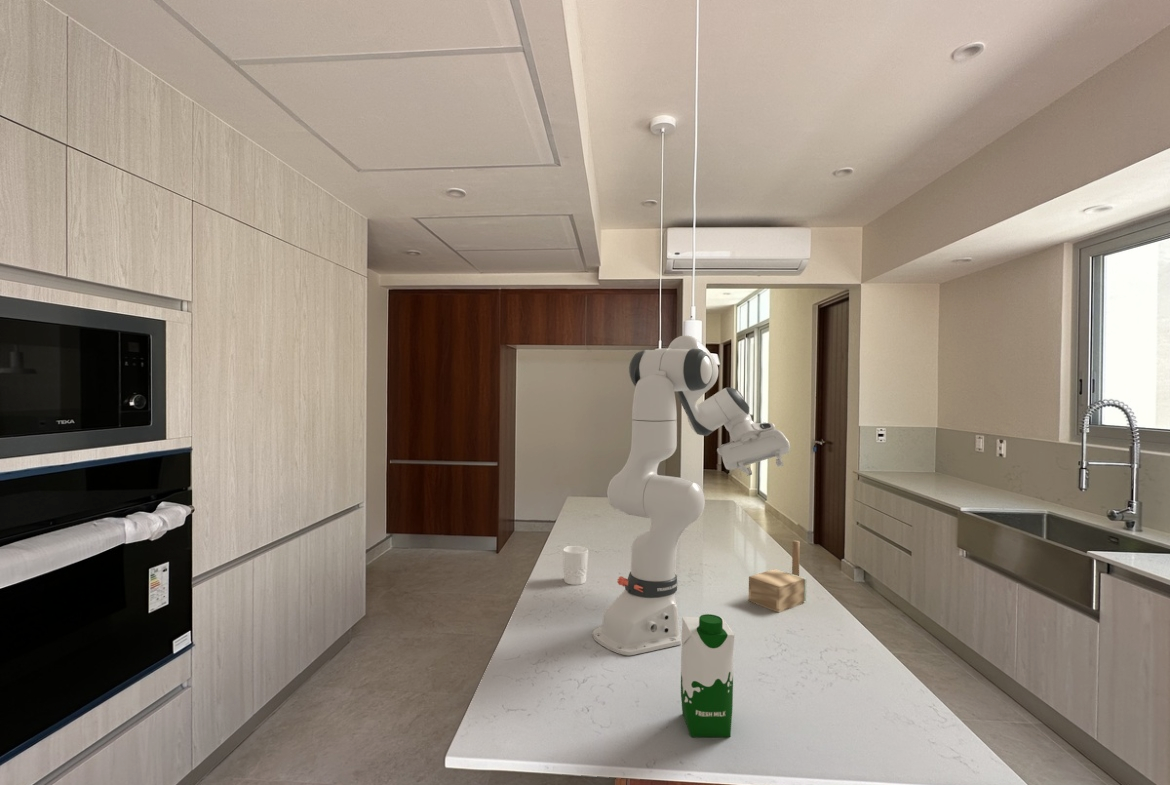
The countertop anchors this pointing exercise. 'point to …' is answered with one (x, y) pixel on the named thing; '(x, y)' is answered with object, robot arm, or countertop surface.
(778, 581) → the tan wooden block
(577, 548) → the white cup
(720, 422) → the robot arm
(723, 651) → the milk carton
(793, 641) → the countertop surface
